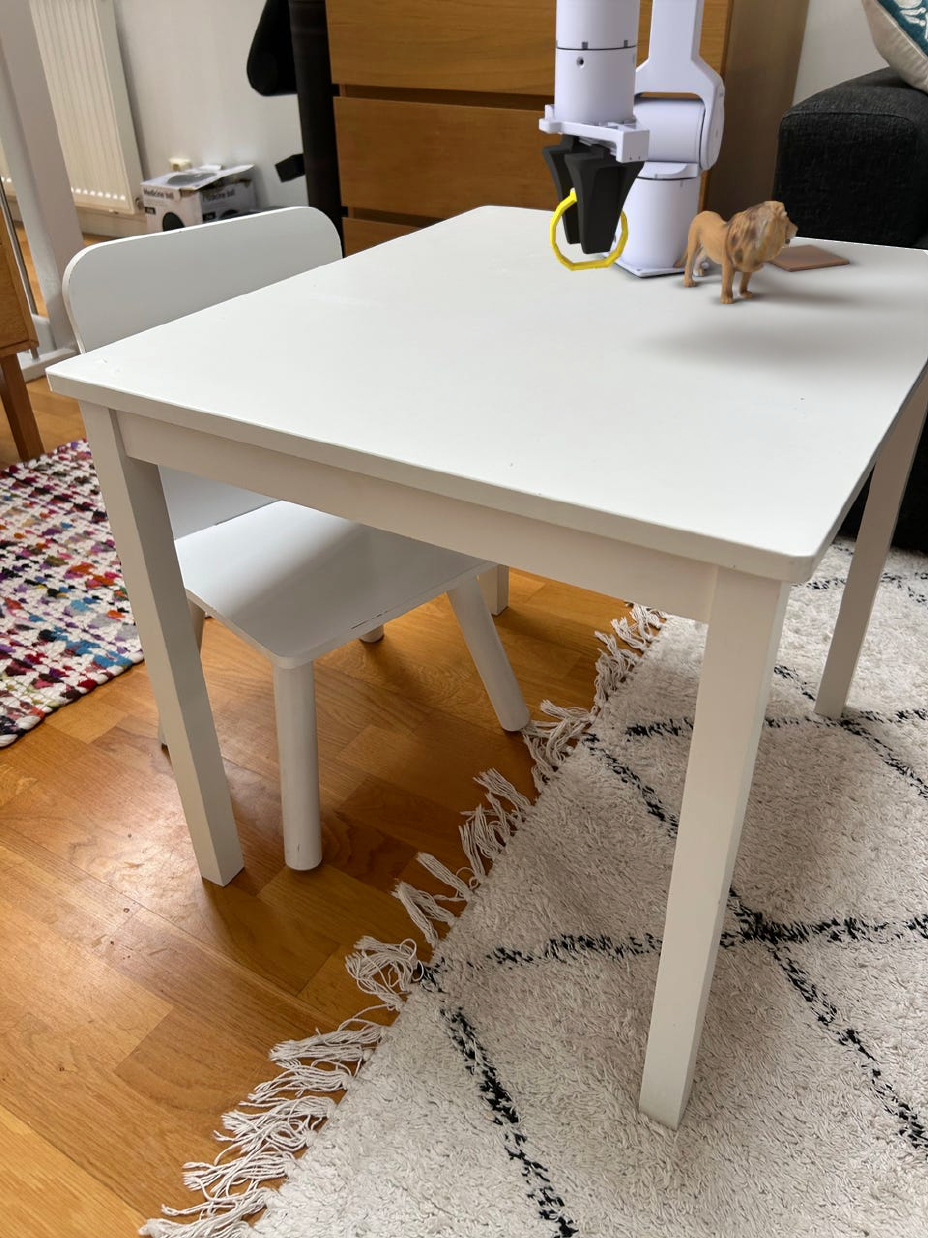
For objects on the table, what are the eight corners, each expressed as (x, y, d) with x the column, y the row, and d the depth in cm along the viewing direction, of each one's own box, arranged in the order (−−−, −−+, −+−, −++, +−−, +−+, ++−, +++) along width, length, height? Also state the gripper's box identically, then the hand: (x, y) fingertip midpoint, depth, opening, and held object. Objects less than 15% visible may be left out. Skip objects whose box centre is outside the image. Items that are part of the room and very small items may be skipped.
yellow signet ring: (622, 262, 77) (628, 182, 74) (627, 272, 75) (633, 190, 72) (548, 264, 77) (550, 185, 74) (550, 274, 75) (552, 193, 72)
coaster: (752, 254, 102) (752, 251, 102) (809, 247, 104) (810, 244, 104) (789, 271, 97) (789, 268, 97) (849, 263, 98) (849, 260, 98)
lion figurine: (794, 304, 88) (811, 200, 83) (751, 315, 86) (766, 209, 81) (687, 269, 99) (696, 175, 94) (646, 278, 97) (654, 182, 92)
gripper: (508, 42, 72) (509, 231, 80) (584, 58, 61) (576, 277, 69) (594, 36, 74) (587, 222, 82) (684, 51, 62) (665, 266, 70)
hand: (588, 247), depth 75 cm, fingers closed on yellow signet ring, 2 cm apart
